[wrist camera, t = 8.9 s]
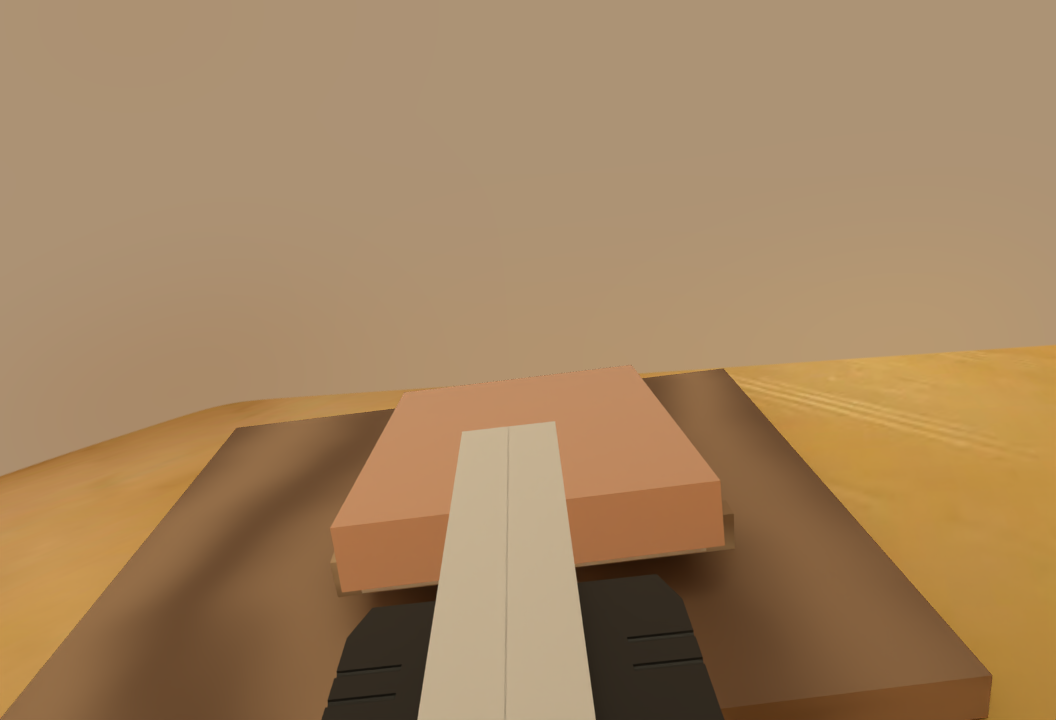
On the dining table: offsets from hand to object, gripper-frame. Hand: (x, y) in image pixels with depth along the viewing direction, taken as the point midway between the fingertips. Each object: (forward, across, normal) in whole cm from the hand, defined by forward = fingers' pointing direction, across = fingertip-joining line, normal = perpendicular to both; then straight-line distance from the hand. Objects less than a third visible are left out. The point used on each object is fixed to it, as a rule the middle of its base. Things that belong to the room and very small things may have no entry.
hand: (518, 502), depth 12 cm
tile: (+6, 0, -4) cm, 7 cm away
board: (+13, -2, -8) cm, 15 cm away
